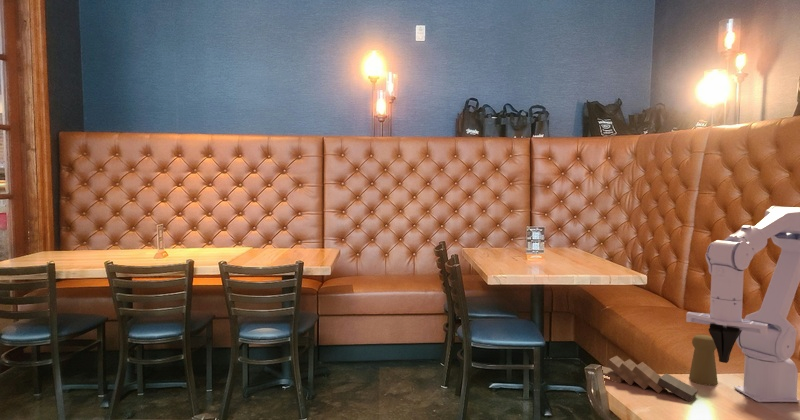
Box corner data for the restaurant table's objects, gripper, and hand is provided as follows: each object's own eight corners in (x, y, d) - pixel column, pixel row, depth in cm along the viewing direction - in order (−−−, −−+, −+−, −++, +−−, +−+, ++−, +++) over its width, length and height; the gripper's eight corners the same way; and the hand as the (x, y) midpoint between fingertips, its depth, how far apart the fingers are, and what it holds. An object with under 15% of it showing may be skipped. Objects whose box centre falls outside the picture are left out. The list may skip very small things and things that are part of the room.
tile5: (628, 372, 126) (600, 365, 131) (620, 377, 123) (592, 369, 128) (627, 379, 126) (599, 371, 131) (620, 384, 123) (592, 376, 128)
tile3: (655, 379, 122) (629, 358, 126) (648, 384, 119) (622, 363, 123) (651, 384, 122) (626, 363, 126) (644, 389, 119) (618, 367, 123)
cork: (722, 386, 122) (723, 340, 121) (693, 384, 123) (695, 338, 122) (712, 377, 128) (713, 333, 127) (685, 375, 129) (686, 331, 128)
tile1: (697, 390, 115) (666, 372, 120) (691, 395, 112) (659, 377, 117) (695, 396, 116) (663, 378, 120) (689, 401, 113) (657, 383, 117)
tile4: (641, 376, 124) (616, 355, 128) (634, 380, 121) (609, 359, 125) (637, 380, 125) (613, 360, 129) (630, 385, 122) (605, 364, 126)
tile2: (669, 383, 120) (642, 361, 124) (662, 388, 116) (635, 366, 120) (665, 388, 120) (638, 366, 124) (658, 393, 117) (631, 371, 121)
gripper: (682, 295, 111) (680, 357, 112) (764, 306, 101) (761, 374, 102) (692, 290, 116) (690, 350, 117) (770, 300, 106) (768, 366, 107)
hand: (723, 361), depth 110 cm, fingers closed
